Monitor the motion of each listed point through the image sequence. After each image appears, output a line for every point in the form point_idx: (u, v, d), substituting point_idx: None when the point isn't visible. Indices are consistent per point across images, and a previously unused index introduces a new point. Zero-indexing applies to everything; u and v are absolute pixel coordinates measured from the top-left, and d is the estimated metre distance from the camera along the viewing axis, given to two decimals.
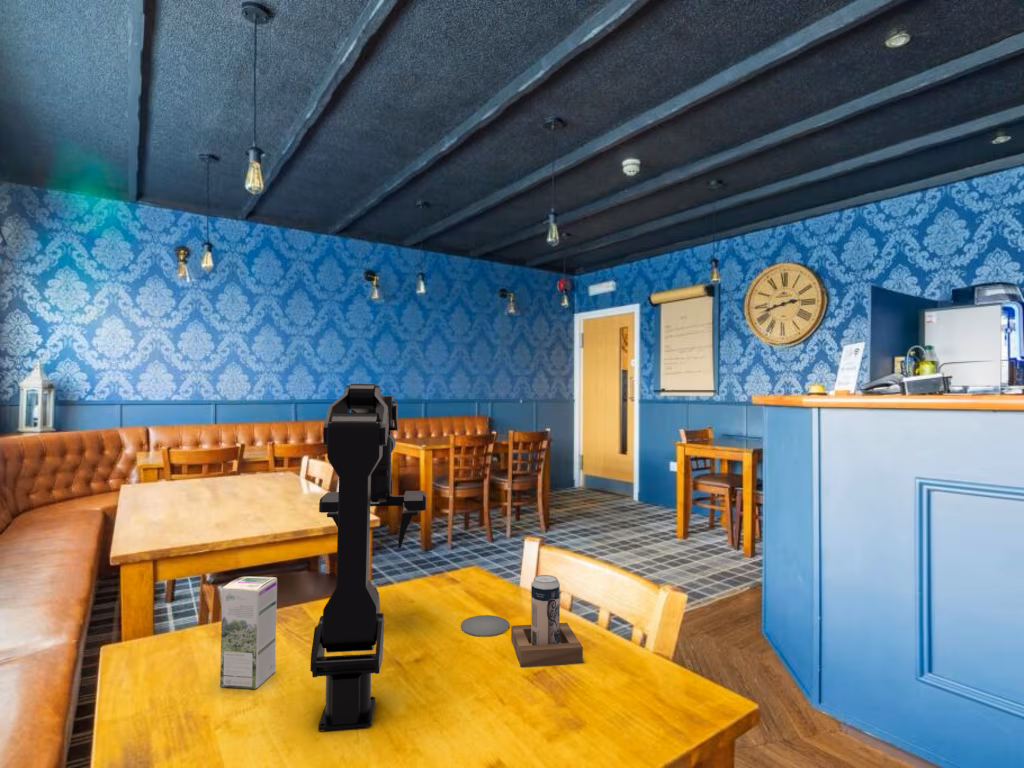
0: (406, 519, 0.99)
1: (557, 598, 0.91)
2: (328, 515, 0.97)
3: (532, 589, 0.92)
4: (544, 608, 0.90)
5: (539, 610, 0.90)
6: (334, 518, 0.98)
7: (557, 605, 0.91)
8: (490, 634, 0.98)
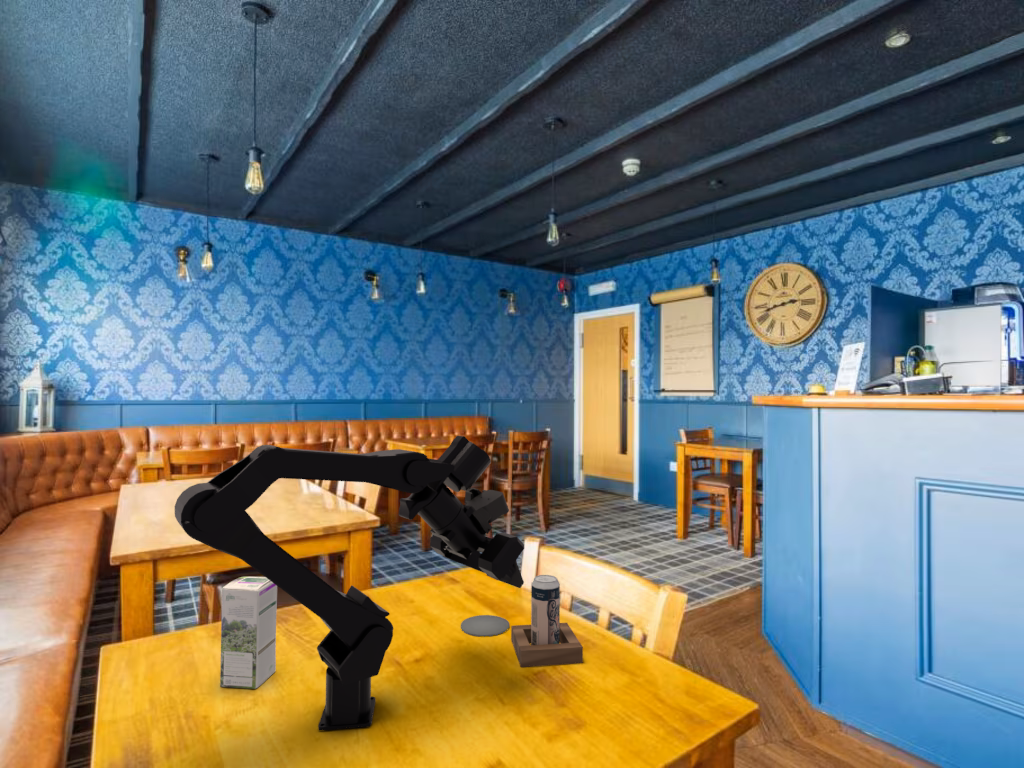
0: None
1: (557, 598, 0.91)
2: (443, 555, 0.90)
3: (532, 589, 0.92)
4: (544, 608, 0.90)
5: (539, 610, 0.90)
6: None
7: (557, 605, 0.91)
8: (490, 634, 0.98)
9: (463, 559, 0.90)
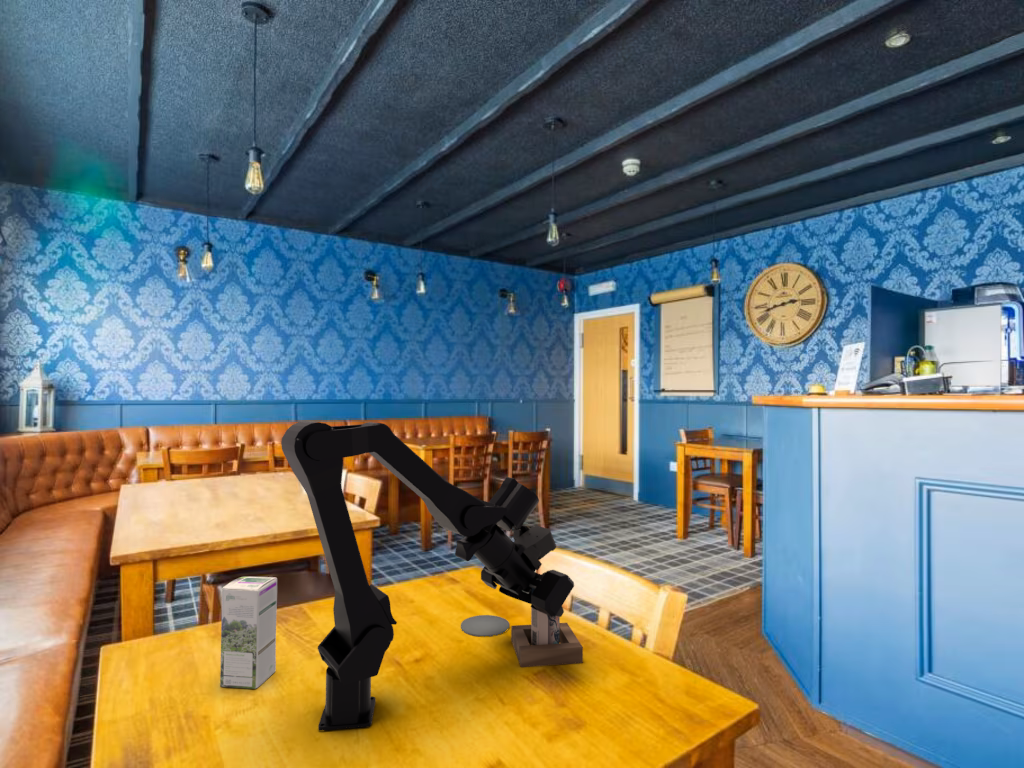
0: None
1: None
2: (499, 591, 0.94)
3: (532, 589, 0.92)
4: None
5: None
6: None
7: None
8: (490, 634, 0.98)
9: (519, 595, 0.93)
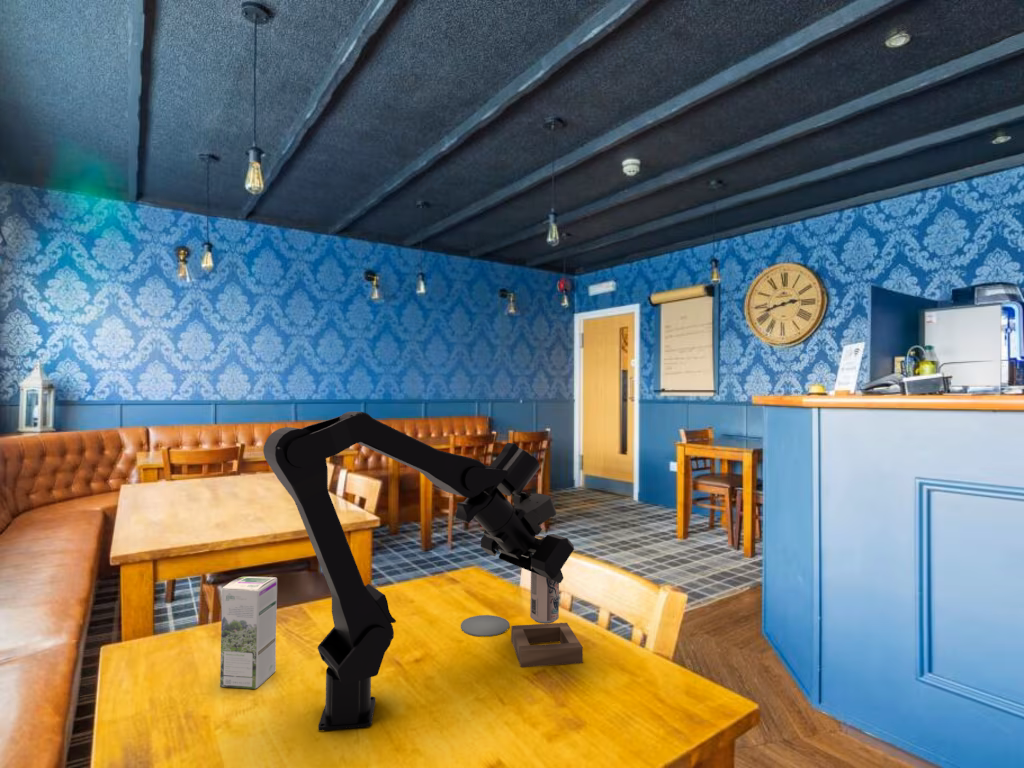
0: None
1: None
2: None
3: None
4: None
5: (538, 577, 0.90)
6: None
7: None
8: (490, 634, 0.98)
9: (519, 562, 0.93)
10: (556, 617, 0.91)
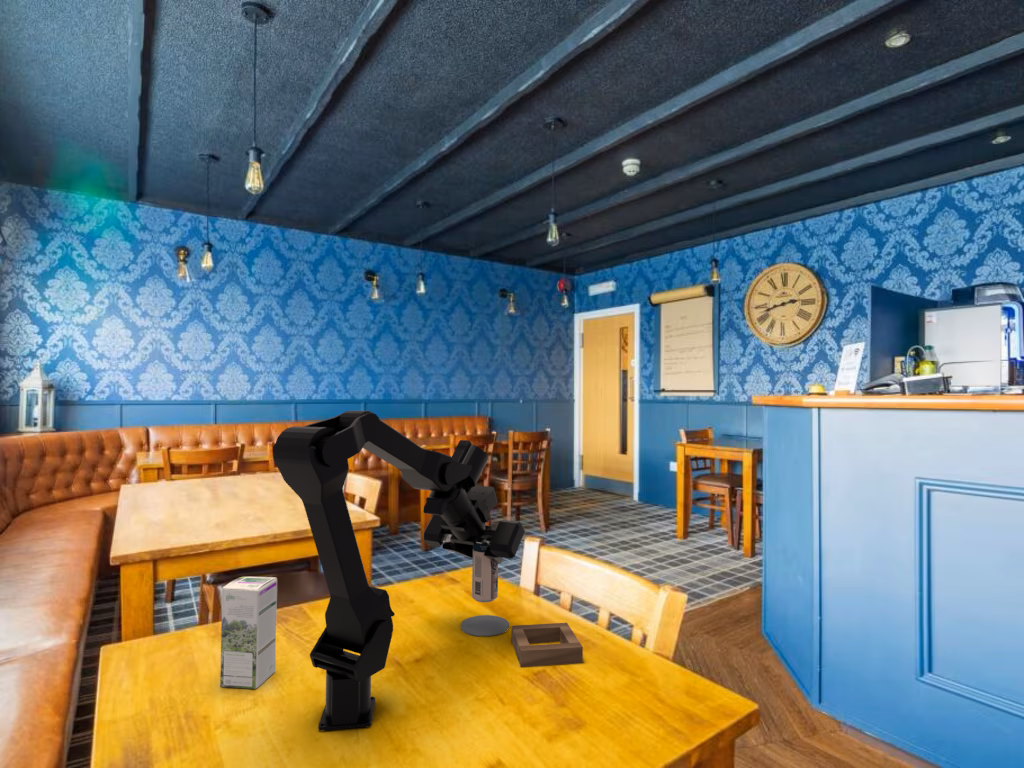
0: (490, 557, 0.97)
1: None
2: (443, 548, 1.01)
3: (475, 544, 1.01)
4: (488, 558, 1.00)
5: (483, 561, 1.00)
6: (449, 550, 1.00)
7: None
8: (490, 634, 0.98)
9: (462, 549, 1.01)
10: (497, 595, 1.02)
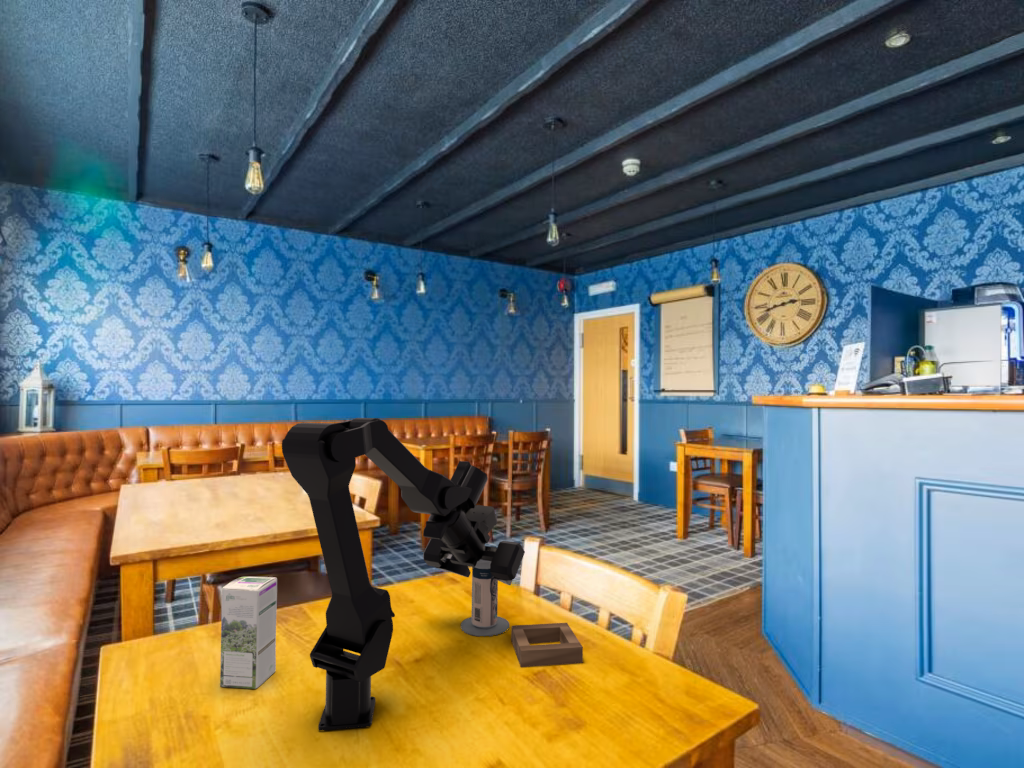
0: (500, 580, 0.96)
1: None
2: None
3: (475, 570, 1.01)
4: (488, 585, 1.00)
5: (483, 588, 1.00)
6: None
7: (497, 581, 1.02)
8: (490, 634, 0.98)
9: (453, 568, 1.02)
10: (496, 621, 1.01)
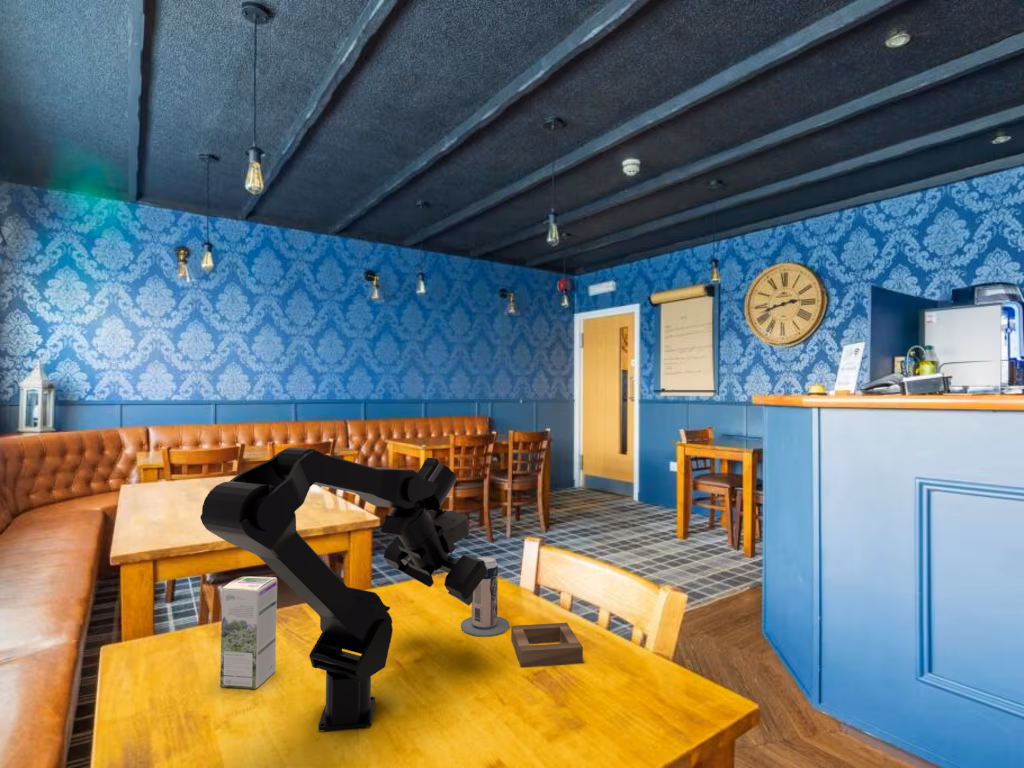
0: (455, 597, 0.86)
1: (497, 575, 1.02)
2: (394, 567, 0.94)
3: None
4: (488, 585, 1.00)
5: (483, 588, 1.00)
6: (399, 570, 0.94)
7: (497, 581, 1.02)
8: (490, 634, 0.98)
9: (414, 573, 0.94)
10: (496, 621, 1.01)
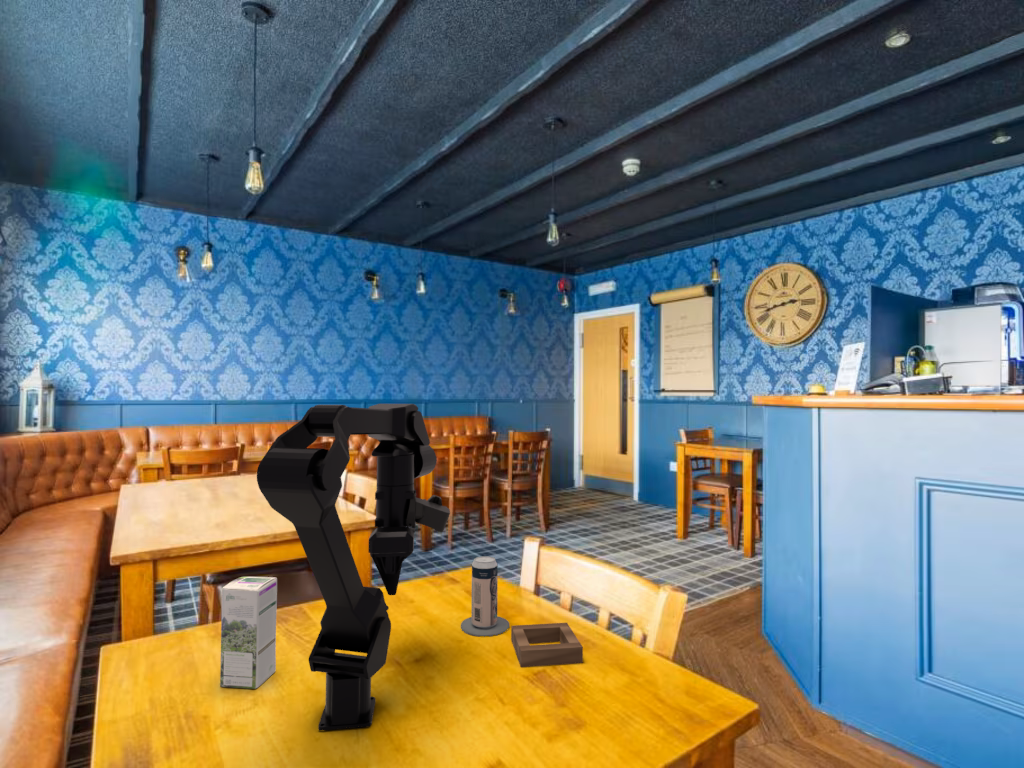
0: None
1: (496, 575, 1.02)
2: None
3: (474, 570, 1.01)
4: (488, 585, 1.00)
5: (483, 588, 1.00)
6: None
7: (496, 581, 1.02)
8: (490, 634, 0.98)
9: None
10: (496, 621, 1.01)
